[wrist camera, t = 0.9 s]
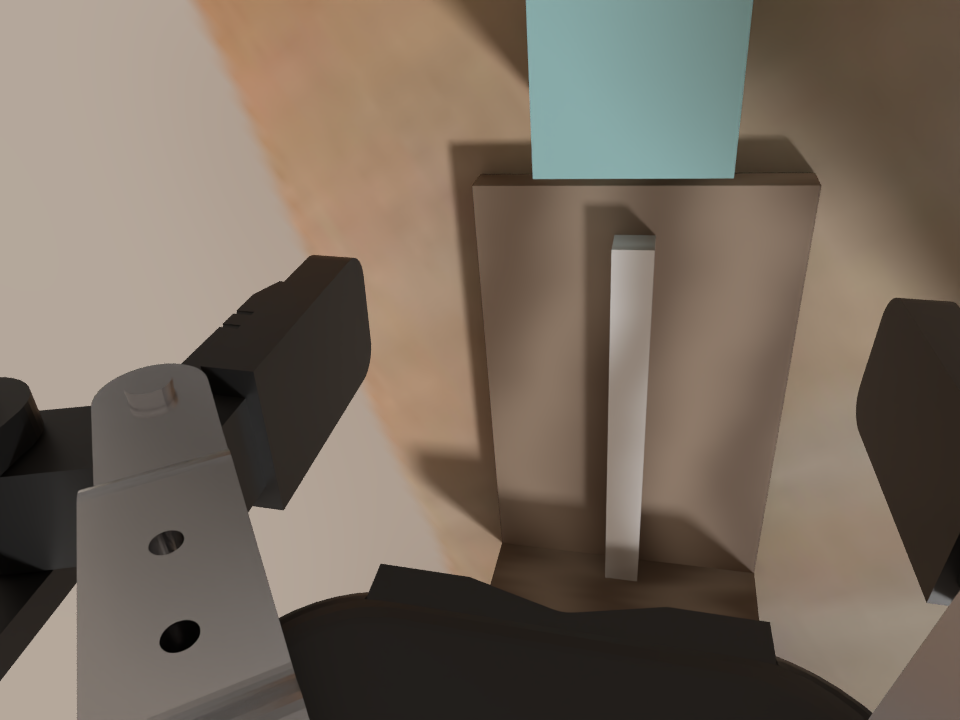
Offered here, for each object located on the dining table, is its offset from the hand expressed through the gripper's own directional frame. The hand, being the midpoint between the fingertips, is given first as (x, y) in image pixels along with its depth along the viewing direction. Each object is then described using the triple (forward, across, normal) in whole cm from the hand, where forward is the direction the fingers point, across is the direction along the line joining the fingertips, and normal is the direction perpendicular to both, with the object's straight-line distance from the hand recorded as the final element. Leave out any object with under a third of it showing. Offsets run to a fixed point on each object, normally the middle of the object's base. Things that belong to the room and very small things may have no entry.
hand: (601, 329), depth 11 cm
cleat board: (+19, -1, +14) cm, 24 cm away
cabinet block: (+19, 0, -2) cm, 19 cm away
